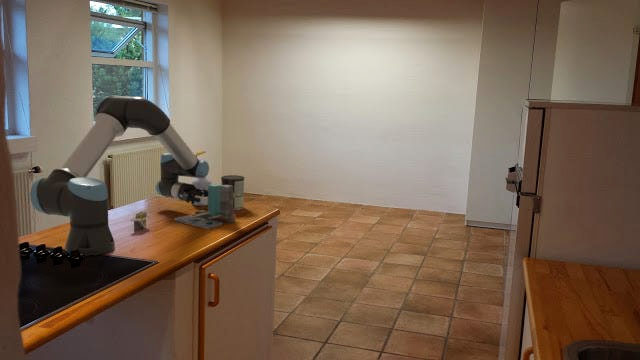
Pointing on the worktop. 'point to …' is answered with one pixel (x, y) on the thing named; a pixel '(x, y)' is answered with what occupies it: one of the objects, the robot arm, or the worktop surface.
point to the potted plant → (140, 220)
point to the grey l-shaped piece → (223, 206)
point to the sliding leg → (213, 200)
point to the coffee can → (235, 189)
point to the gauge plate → (198, 222)
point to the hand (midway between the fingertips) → (219, 198)
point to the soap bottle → (201, 183)
